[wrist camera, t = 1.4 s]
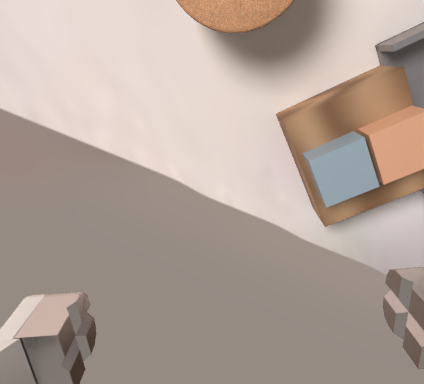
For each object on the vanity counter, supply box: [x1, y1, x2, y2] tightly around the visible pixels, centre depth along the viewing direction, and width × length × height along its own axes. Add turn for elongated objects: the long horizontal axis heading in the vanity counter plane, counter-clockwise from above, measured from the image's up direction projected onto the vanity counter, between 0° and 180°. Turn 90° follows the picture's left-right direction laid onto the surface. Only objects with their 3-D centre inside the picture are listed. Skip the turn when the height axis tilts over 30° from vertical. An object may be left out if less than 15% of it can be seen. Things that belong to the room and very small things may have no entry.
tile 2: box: [302, 131, 380, 208], centre depth 31 cm, size 5×5×2 cm
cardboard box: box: [276, 65, 424, 227], centre depth 34 cm, size 11×12×4 cm
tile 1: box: [358, 106, 424, 185], centre depth 30 cm, size 5×5×2 cm
